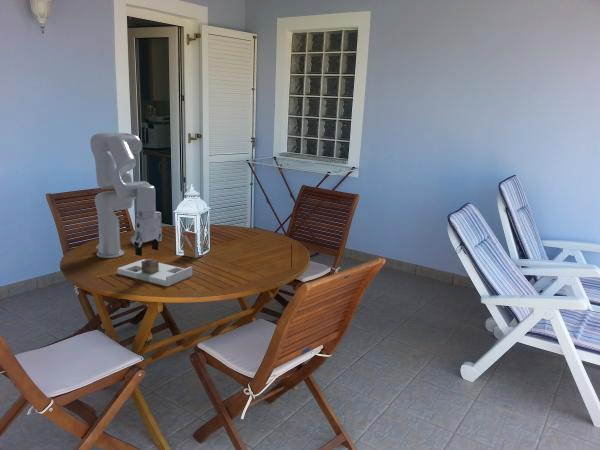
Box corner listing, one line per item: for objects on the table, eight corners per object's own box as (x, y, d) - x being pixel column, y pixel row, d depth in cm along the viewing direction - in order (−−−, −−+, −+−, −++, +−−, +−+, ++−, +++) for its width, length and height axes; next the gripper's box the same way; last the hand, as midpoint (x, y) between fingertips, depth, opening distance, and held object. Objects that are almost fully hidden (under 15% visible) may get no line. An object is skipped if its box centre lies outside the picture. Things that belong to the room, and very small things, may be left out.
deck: (117, 273, 216) (117, 264, 215) (143, 264, 230) (143, 255, 229) (167, 286, 204) (167, 277, 203) (192, 275, 218) (192, 266, 217)
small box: (182, 255, 246) (182, 230, 243) (191, 252, 251) (191, 228, 248) (195, 258, 242) (195, 233, 239) (203, 255, 247) (203, 230, 244)
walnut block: (141, 272, 212) (141, 261, 211) (150, 269, 216) (149, 258, 215) (150, 274, 210) (150, 263, 209) (158, 271, 214) (158, 260, 213)
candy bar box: (141, 239, 271) (140, 210, 267) (148, 237, 275) (147, 209, 271) (155, 243, 265) (154, 213, 261) (162, 241, 269) (161, 212, 265)
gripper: (137, 219, 197) (138, 259, 202) (167, 211, 212) (167, 249, 217) (124, 216, 200) (125, 255, 205) (154, 209, 215) (154, 245, 220)
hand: (147, 252), depth 211 cm, fingers open, 9 cm apart
